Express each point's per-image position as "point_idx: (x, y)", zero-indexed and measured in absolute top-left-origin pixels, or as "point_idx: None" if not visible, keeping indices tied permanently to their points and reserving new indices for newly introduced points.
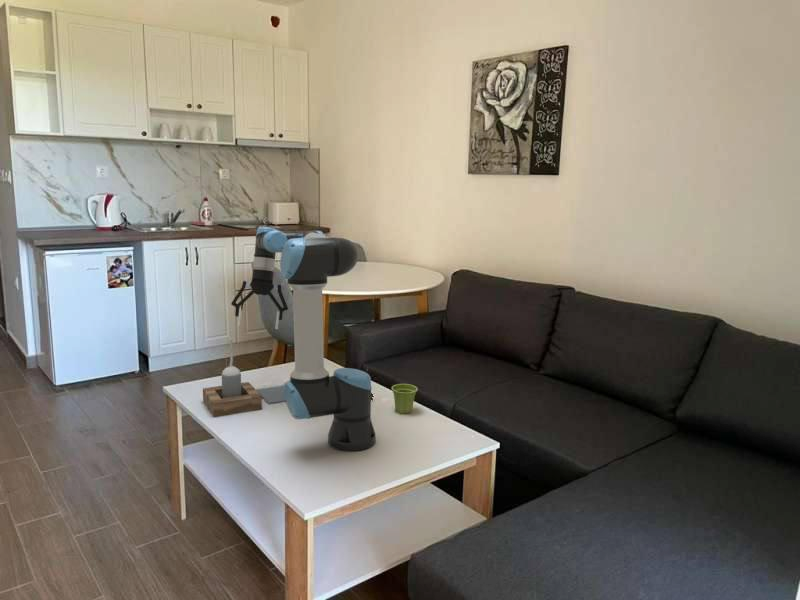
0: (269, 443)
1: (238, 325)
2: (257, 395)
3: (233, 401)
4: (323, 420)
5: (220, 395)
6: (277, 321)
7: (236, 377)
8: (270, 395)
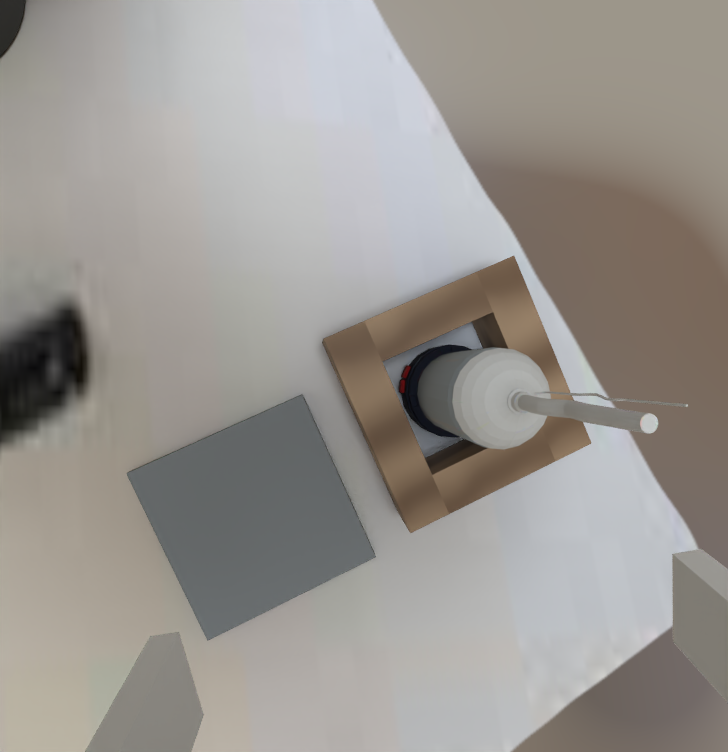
0: (253, 12)
1: (695, 556)
2: (343, 346)
3: (437, 289)
4: (52, 209)
5: None
6: (107, 748)
7: (463, 360)
8: (304, 483)
